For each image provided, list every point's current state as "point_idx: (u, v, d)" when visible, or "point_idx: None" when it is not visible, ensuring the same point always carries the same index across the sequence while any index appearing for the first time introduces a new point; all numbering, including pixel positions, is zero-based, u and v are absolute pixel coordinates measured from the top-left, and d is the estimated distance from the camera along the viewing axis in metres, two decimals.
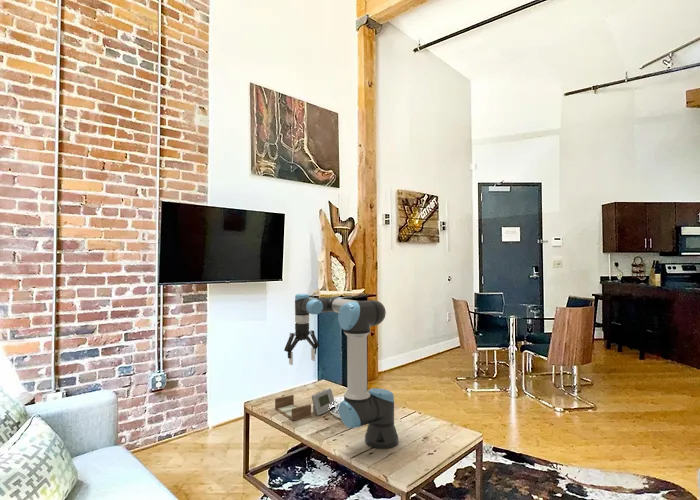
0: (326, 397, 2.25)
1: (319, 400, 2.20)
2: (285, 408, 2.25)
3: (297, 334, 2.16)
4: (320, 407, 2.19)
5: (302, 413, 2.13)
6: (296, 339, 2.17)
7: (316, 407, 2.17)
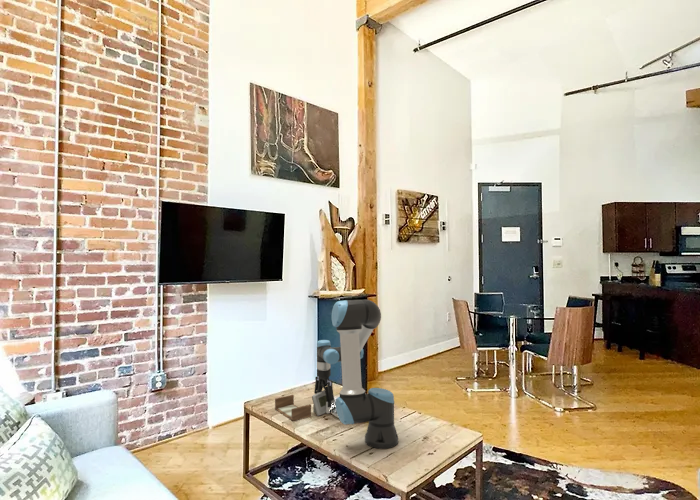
0: None
1: (319, 400, 2.20)
2: (285, 408, 2.25)
3: (318, 378, 2.27)
4: (320, 407, 2.18)
5: (302, 413, 2.13)
6: None
7: (316, 407, 2.17)
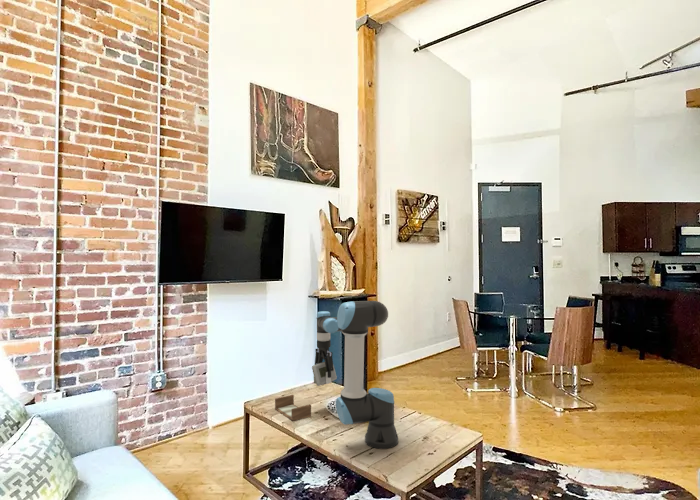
0: None
1: (319, 370, 2.20)
2: (285, 408, 2.25)
3: (318, 349, 2.27)
4: (320, 377, 2.18)
5: (302, 413, 2.13)
6: None
7: (316, 377, 2.17)
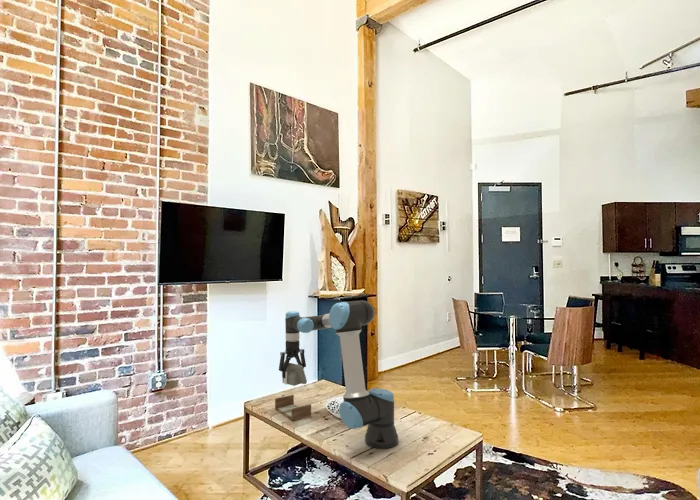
0: None
1: None
2: (285, 408, 2.25)
3: (287, 352, 2.19)
4: None
5: (302, 413, 2.13)
6: (287, 358, 2.20)
7: (305, 376, 2.19)
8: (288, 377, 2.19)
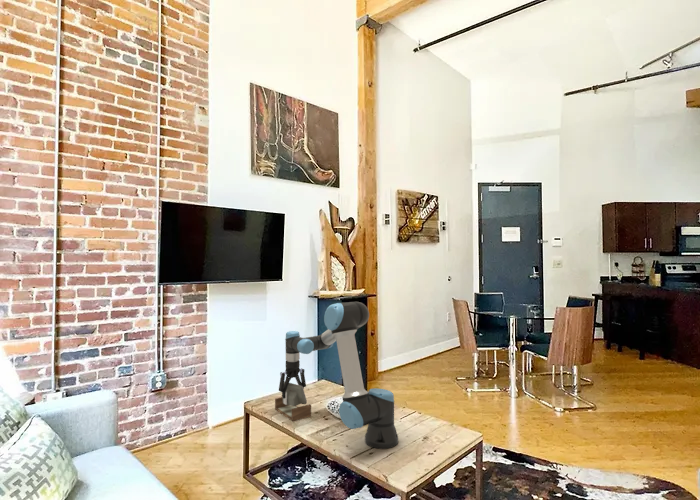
0: None
1: None
2: (285, 408, 2.25)
3: (287, 372, 2.19)
4: None
5: (302, 413, 2.13)
6: (287, 378, 2.20)
7: (305, 396, 2.18)
8: (288, 397, 2.19)
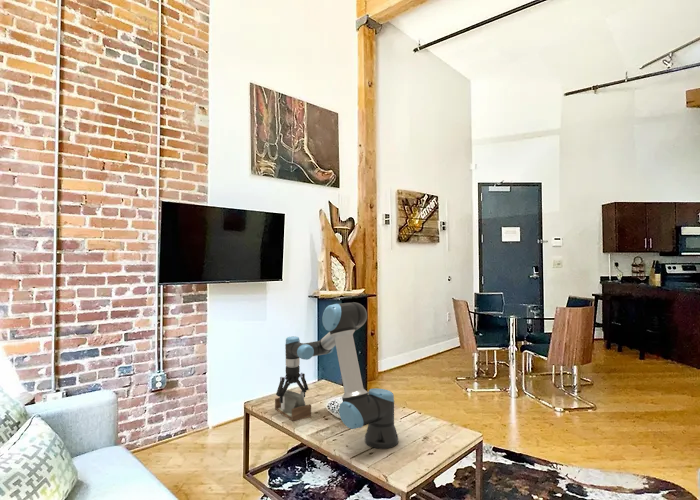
0: None
1: None
2: None
3: (287, 378, 2.19)
4: None
5: (302, 413, 2.13)
6: (287, 383, 2.19)
7: None
8: (288, 405, 2.19)
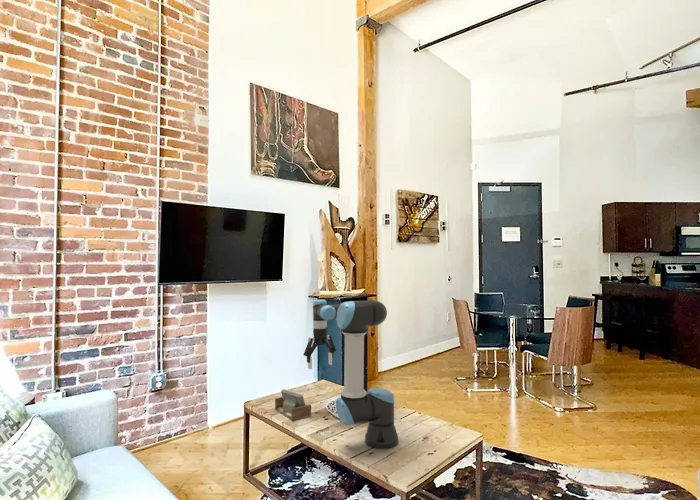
0: None
1: None
2: None
3: (316, 339, 2.23)
4: None
5: (302, 413, 2.13)
6: (315, 344, 2.23)
7: (305, 404, 2.18)
8: (288, 405, 2.19)
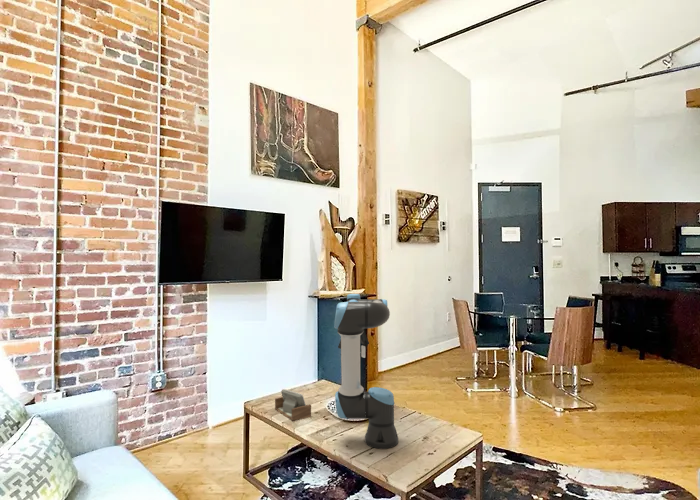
0: None
1: None
2: None
3: None
4: None
5: (302, 413, 2.13)
6: None
7: (305, 404, 2.18)
8: (288, 405, 2.19)
